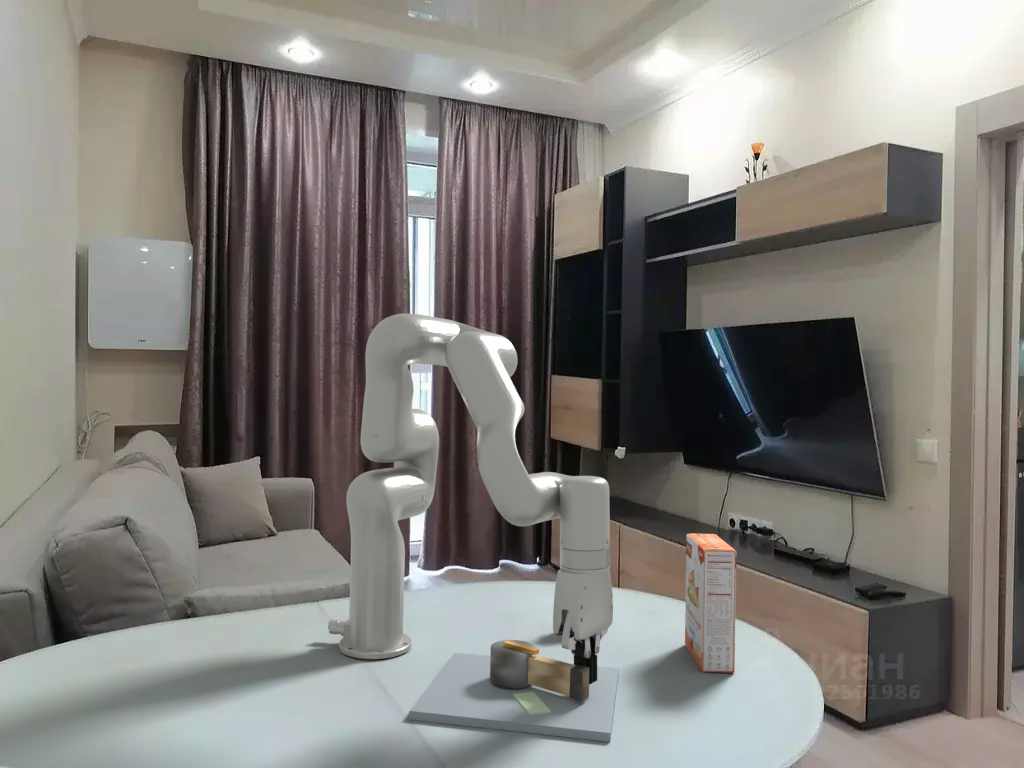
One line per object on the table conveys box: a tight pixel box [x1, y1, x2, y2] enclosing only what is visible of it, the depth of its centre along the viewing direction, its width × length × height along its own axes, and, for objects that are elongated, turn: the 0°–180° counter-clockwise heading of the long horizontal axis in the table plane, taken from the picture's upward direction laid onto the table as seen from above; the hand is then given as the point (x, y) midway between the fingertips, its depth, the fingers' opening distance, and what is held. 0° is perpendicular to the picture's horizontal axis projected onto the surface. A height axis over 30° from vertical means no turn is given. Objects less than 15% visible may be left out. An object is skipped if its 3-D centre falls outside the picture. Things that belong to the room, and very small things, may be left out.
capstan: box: [489, 639, 590, 701], centre depth 115 cm, size 16×7×6 cm, turn 55°
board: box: [409, 652, 620, 743], centre depth 115 cm, size 28×24×1 cm
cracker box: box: [684, 532, 738, 674], centre depth 134 cm, size 14×6×21 cm, turn 179°
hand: (585, 680), depth 114 cm, fingers closed
